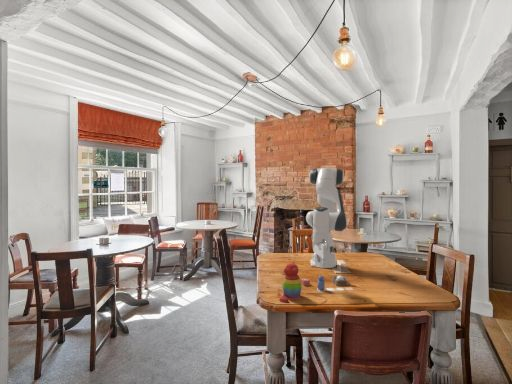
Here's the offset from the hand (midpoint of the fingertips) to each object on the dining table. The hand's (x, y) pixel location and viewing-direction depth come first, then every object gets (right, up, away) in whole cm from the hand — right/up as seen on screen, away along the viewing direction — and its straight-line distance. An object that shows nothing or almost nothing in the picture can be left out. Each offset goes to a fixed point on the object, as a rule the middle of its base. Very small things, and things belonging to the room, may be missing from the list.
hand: (321, 264), depth 156 cm
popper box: (+13, -15, +10) cm, 22 cm away
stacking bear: (-17, -15, -9) cm, 24 cm away
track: (+7, -15, +1) cm, 17 cm away
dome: (+13, -14, +10) cm, 21 cm away
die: (-7, -15, +9) cm, 19 cm away
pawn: (0, -14, 0) cm, 14 cm away
